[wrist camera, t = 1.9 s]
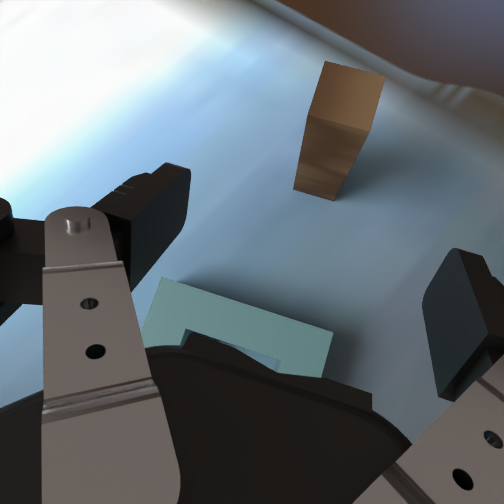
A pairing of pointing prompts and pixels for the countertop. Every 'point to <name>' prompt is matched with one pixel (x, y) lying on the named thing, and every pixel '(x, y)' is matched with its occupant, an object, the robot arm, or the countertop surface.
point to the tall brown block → (336, 128)
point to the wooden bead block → (234, 327)
